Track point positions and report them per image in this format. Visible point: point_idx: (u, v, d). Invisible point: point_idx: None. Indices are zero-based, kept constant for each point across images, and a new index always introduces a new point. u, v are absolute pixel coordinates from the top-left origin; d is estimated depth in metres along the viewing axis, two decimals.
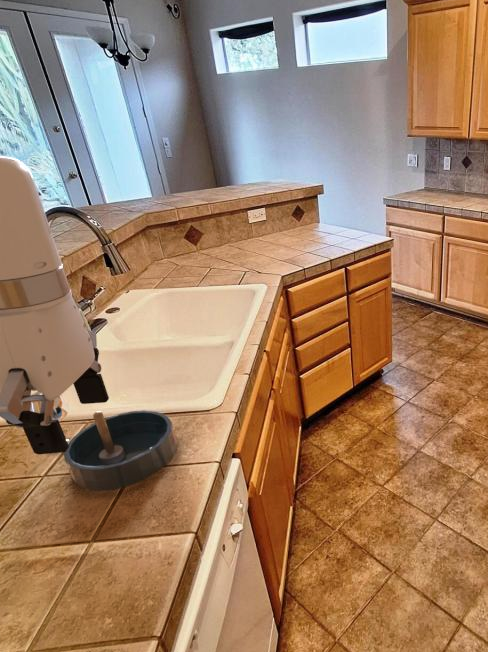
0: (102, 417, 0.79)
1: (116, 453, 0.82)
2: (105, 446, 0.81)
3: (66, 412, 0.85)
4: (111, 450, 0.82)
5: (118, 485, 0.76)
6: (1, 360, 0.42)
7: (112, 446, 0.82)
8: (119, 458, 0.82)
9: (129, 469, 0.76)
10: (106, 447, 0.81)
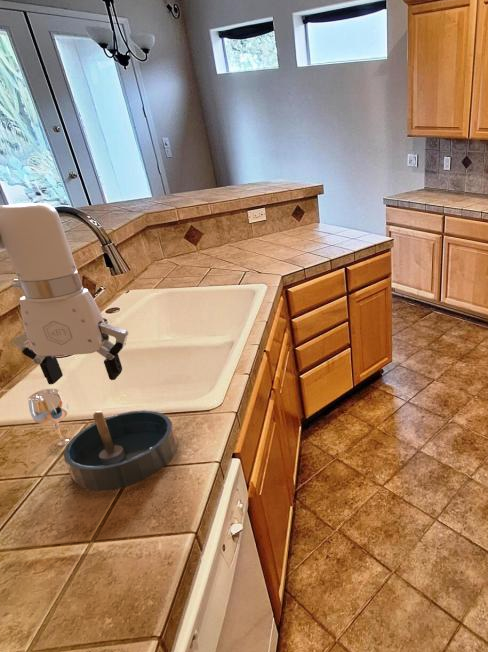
0: (102, 417, 0.79)
1: (116, 453, 0.82)
2: (105, 446, 0.81)
3: (66, 412, 0.85)
4: (111, 450, 0.82)
5: (118, 485, 0.76)
6: (94, 318, 0.70)
7: (112, 446, 0.82)
8: (119, 458, 0.82)
9: (129, 469, 0.76)
10: (106, 447, 0.81)
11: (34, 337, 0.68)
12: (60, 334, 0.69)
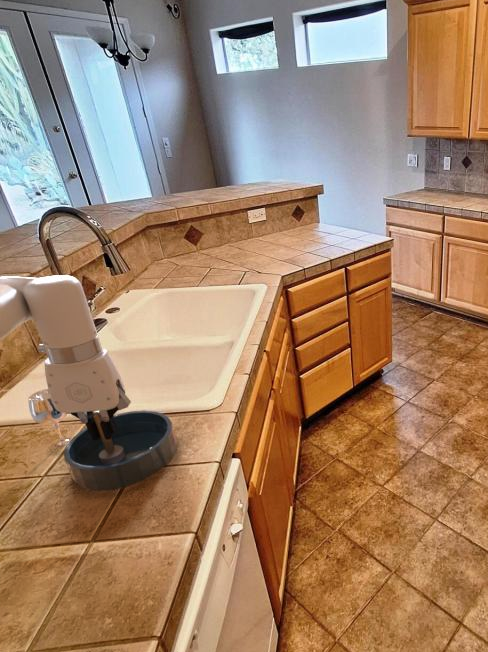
0: None
1: (116, 453, 0.82)
2: (105, 446, 0.81)
3: None
4: (111, 450, 0.82)
5: (118, 485, 0.76)
6: (113, 378, 0.75)
7: (112, 446, 0.82)
8: (119, 458, 0.82)
9: (129, 469, 0.76)
10: (106, 447, 0.81)
11: (57, 396, 0.73)
12: (81, 393, 0.74)
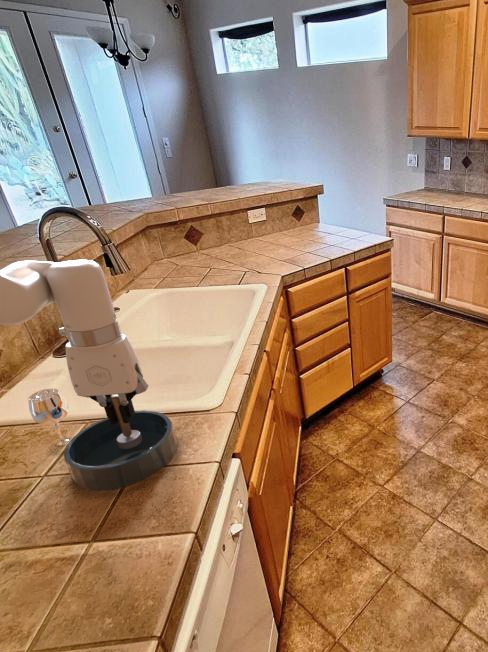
0: None
1: (133, 437, 0.84)
2: (122, 430, 0.82)
3: (66, 412, 0.85)
4: (128, 434, 0.83)
5: (118, 485, 0.76)
6: (132, 362, 0.77)
7: (129, 430, 0.83)
8: (136, 442, 0.84)
9: (129, 469, 0.76)
10: (124, 431, 0.83)
11: (77, 379, 0.75)
12: (101, 377, 0.75)
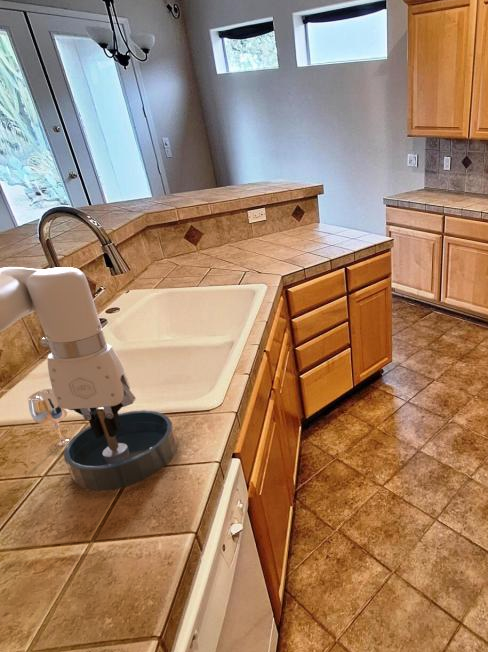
0: None
1: (120, 451, 0.80)
2: (108, 444, 0.79)
3: (66, 412, 0.85)
4: (115, 448, 0.80)
5: (118, 485, 0.76)
6: (117, 373, 0.73)
7: (116, 444, 0.80)
8: (123, 456, 0.80)
9: (129, 469, 0.76)
10: (110, 445, 0.79)
11: (60, 392, 0.71)
12: (85, 389, 0.72)
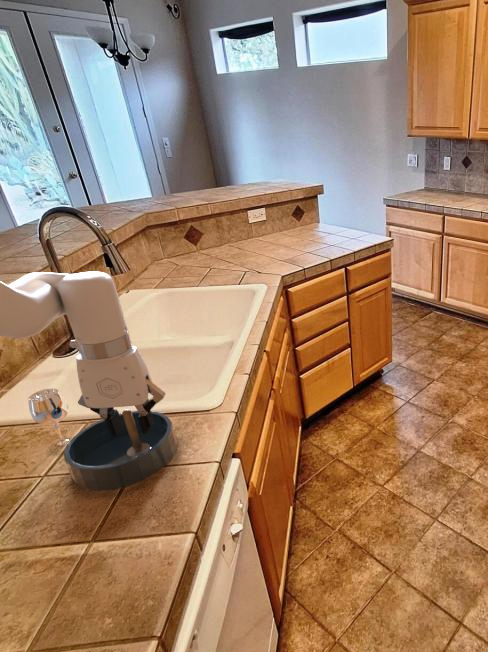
0: (131, 415, 0.80)
1: (144, 450, 0.83)
2: (133, 444, 0.82)
3: (66, 412, 0.85)
4: (139, 448, 0.83)
5: (118, 485, 0.76)
6: (142, 374, 0.76)
7: (140, 444, 0.83)
8: None
9: (129, 469, 0.76)
10: (134, 445, 0.82)
11: (88, 392, 0.74)
12: (112, 389, 0.74)
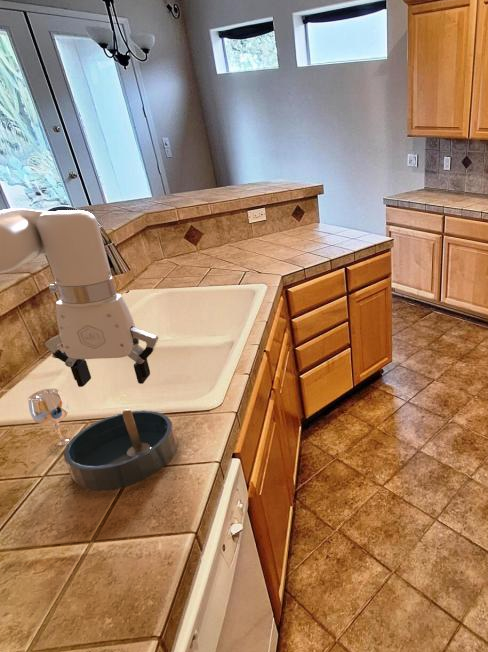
0: (131, 415, 0.80)
1: (144, 450, 0.83)
2: (133, 444, 0.82)
3: (66, 412, 0.85)
4: (139, 448, 0.83)
5: (118, 485, 0.76)
6: (127, 323, 0.72)
7: (140, 444, 0.83)
8: None
9: (129, 469, 0.76)
10: (134, 445, 0.82)
11: (68, 340, 0.70)
12: (94, 338, 0.70)
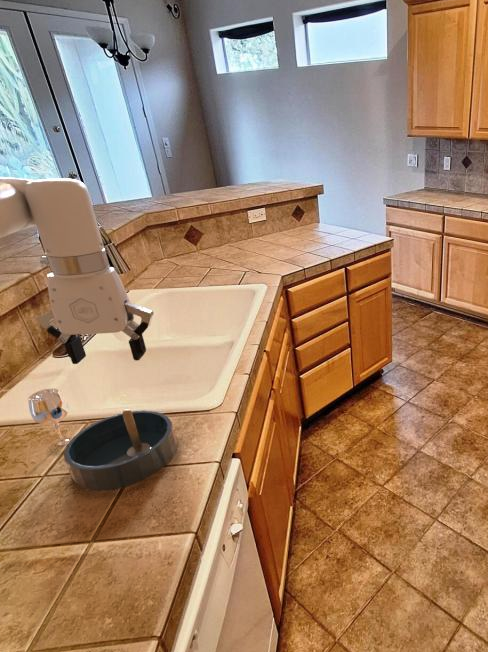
0: (131, 415, 0.80)
1: (144, 450, 0.83)
2: (133, 444, 0.82)
3: (66, 412, 0.85)
4: (139, 448, 0.83)
5: (118, 485, 0.76)
6: (121, 297, 0.70)
7: (140, 444, 0.83)
8: None
9: (129, 469, 0.76)
10: (134, 445, 0.82)
11: (60, 315, 0.68)
12: (87, 312, 0.68)
